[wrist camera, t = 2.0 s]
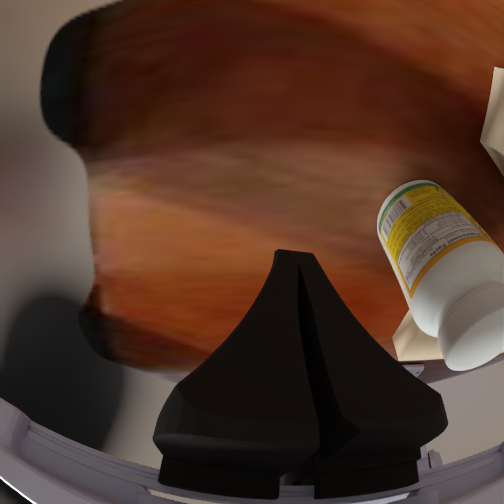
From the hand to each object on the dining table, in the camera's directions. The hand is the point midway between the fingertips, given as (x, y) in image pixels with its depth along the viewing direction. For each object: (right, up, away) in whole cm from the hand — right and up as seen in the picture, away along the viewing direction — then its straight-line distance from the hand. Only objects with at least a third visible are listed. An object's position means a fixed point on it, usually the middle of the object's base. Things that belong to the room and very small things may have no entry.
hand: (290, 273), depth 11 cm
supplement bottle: (+8, +3, +6) cm, 11 cm away
